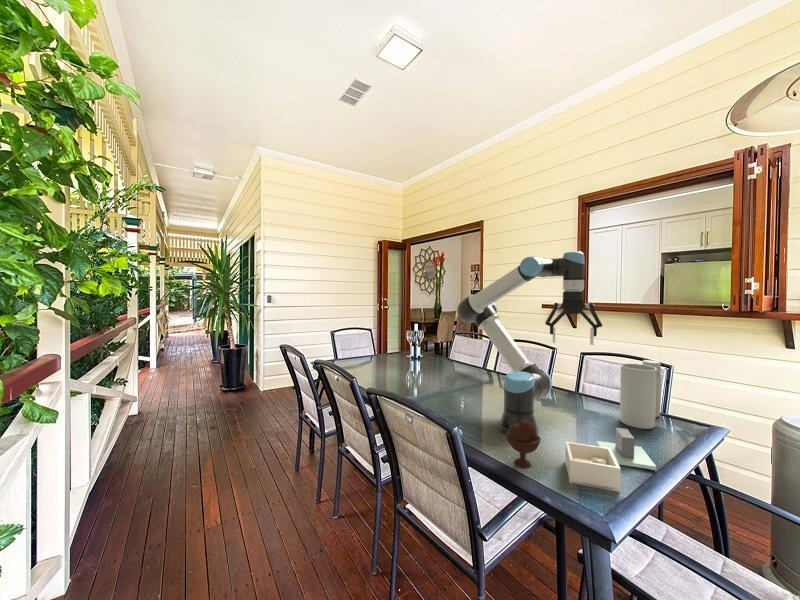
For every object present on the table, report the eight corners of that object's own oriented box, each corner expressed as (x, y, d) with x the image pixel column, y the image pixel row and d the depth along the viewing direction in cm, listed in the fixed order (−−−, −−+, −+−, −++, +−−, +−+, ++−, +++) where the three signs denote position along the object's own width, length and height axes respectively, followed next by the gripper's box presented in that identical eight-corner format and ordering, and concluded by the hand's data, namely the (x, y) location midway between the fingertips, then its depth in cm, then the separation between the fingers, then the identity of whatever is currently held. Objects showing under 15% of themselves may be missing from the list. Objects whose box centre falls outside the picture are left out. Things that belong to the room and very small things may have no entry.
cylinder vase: (640, 431, 136) (641, 371, 136) (612, 419, 148) (614, 364, 148) (662, 427, 140) (663, 369, 139) (634, 416, 152) (635, 362, 151)
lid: (605, 464, 111) (606, 438, 111) (596, 446, 124) (597, 422, 124) (656, 472, 106) (656, 445, 106) (641, 452, 120) (641, 427, 119)
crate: (569, 482, 100) (570, 460, 100) (565, 461, 113) (565, 441, 112) (620, 492, 96) (620, 468, 96) (609, 469, 108) (610, 448, 108)
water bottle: (655, 412, 157) (657, 360, 156) (663, 418, 149) (665, 363, 149) (633, 410, 159) (634, 359, 159) (640, 416, 152) (641, 362, 151)
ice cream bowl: (531, 455, 117) (531, 413, 117) (546, 472, 106) (546, 426, 105) (501, 455, 117) (501, 413, 116) (513, 473, 106) (513, 427, 105)
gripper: (539, 290, 134) (539, 343, 134) (611, 290, 125) (610, 346, 125) (539, 290, 141) (538, 340, 141) (607, 290, 132) (606, 343, 132)
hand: (572, 343), depth 133 cm, fingers open, 13 cm apart
